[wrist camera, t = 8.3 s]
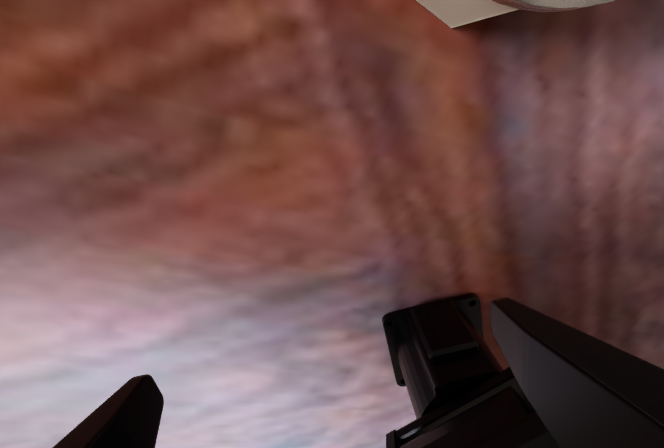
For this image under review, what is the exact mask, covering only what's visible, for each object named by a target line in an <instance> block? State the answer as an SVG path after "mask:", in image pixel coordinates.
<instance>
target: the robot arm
mask: <svg viewBox="0 0 664 448" xmlns="http://www.w3.org/2000/svg"><path fill="white" fill-rule="evenodd" d="M472 300H473V301H472ZM470 301H472V302H471V303H469V302H470ZM490 316H491V329H492V332H493V335H494V337H495V339H496V341H497V343H498V345H499V347H500V349H501V351H502V352H503V354H504V356H505V358H506V360H507V362H508V364H509V366H510V367H508V368H507V369H505V370H503V369H502V367H501V366H500V364H499V362H498V361H497V359H496V358H495V356H494V355H493V353H492V352H491V350H490V349H489V347H488V346H487V344H486V343H485V341H484V340H483V332H482V320H481V309H480V300H479V299H478V297H477V296H476V295H475V294H466V295H462V296H458V297H454V298H450V299H446V300H441V301H437V302H433V303H429V304H425V305H421V306H417V307H413V308H409V309H405V310H400V311H396V312H392V313H388V314H386V315H384V316H383V318H382V322H383V327H384V331H385V335H386V339H387V344H388V348H389V352H390V357H391V361H392V365H393V369H394V374H395V378H396V381H397V384H398V385H399V386H406V387H407V390H408V393H409V396H410V399H411V402H412V405H413V408H414V412H415V415H416V418H417V419H416V420H415V421H413V422H411V423H409V424H408V425H406V426H404V427H402V428H400V429H399V430H397V431H396V430H393V431H391V432H390V433H388V434H386V448H664V369H662V368H660V367H658V366H656V365H653V364H651V363H649V362H647V361H645V360H643V359H640V358H638V357H636V356H634V355H632V354H629V353H627V352H625V351H623V350H621V349H619V348H616V347H614V346H612V345H610V344H608V343H606V342H603V341H601V340H599V339H597V338H595V337H593V336H590V335H588V334H586V333H584V332H582V331H580V330H577V329H575V328H573V327H571V326H569V325H566V324H564V323H562V322H560V321H558V320H556V319H553V318H551V317H549V316H547V315H545V314H543V313H540V312H538V311H536V310H534V309H532V308H530V307H527V306H525V305H523V304H521V303H519V302H517V301H514V300H512V299H510V298H501V299H496V300H493V301H492V302H491V304H490ZM389 320H393V321H392V322H388V321H389ZM402 379H403V380H402ZM163 404H164V400H163V396H162V393H161V392H160V390H159V388H158V387H157V385H156V383H155V381H154V380H153V378H152V376H150V375H147V374H146V375H141V376H136V377H133V378H131V379H130V380H129V381H128V382H127V383H125V384H124V385H123V386H122V387H121V388H120V389H119V390H118V391H116V392H115V393H114V394H113V395H112V396H111V397H110V398H108V399H107V400H106V401H105V402H104V403H103V404H102V405H101V406H99V407H98V408H97V409H96V410H95V411H94V412H93V413H91V414H90V415H89V416H88V417H87V418H86V419H85V420H83V421H82V422H81V423H80V424H79V425H78V426H77V427H76V428H74V429H73V430H72V431H71V432H70V433H69V434H68V435H66V436H65V437H64V438H63V439H62V440H61V441H60V442H58V443H57V444H56V445H55V446H54V447H53V448H155V444H156V439H157V434H158V430H159V425H160V420H161V415H162V410H163Z"/></svg>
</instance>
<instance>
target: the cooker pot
mask: <svg viewBox="0 0 664 448" xmlns="http://www.w3.org/2000/svg"><path fill="white" fill-rule="evenodd" d="M416 1H417V2H418V3H420V4H421V5H422V6H424V7H425V8H426V9H427V10H429V11H430V12H431V13H433V14H434V15H435V16H436V17H438V18H439V19H440V20H442V21H443V22H444V23H445V24H447V25H448V26H449V27H451V28H454V27H458V26H461V25H465V24H468V23H472V22H476V21H479V20H483V19H486V18H490V17H494V16H497V15H501V14H505V13H508V12H512V11H516V10H519V9H516V8H513V7H509V6H506V5H502V4H499V3H497V2H495V1H493V0H416Z"/></svg>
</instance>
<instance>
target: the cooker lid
mask: <svg viewBox="0 0 664 448" xmlns="http://www.w3.org/2000/svg"><path fill="white" fill-rule="evenodd" d="M493 1H495V2H497V3H499V4H502V5H506V6H509V7H513V8H516V9H520V10H528V11H536V12H559V11H569V10H574V9H579V8H584V7H589V6H594V5H599V4H603V3H608V2H612V1H615V0H493Z"/></svg>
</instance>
